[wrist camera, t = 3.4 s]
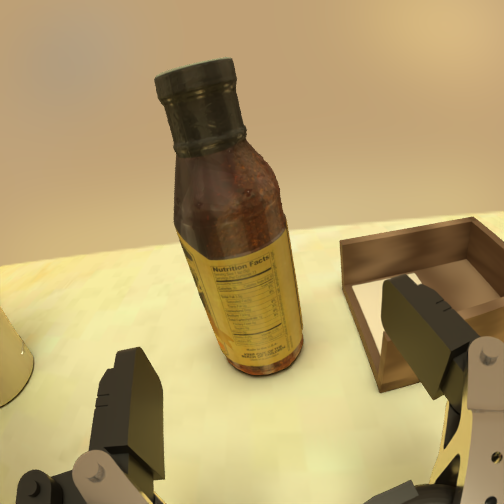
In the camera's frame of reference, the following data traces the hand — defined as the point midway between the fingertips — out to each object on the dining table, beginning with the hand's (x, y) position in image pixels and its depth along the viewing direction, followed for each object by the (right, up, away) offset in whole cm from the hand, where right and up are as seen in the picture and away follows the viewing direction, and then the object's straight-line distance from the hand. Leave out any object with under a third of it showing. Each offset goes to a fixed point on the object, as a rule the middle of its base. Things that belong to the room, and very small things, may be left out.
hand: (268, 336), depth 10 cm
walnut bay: (+14, -2, +13) cm, 19 cm away
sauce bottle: (0, -5, +14) cm, 15 cm away
